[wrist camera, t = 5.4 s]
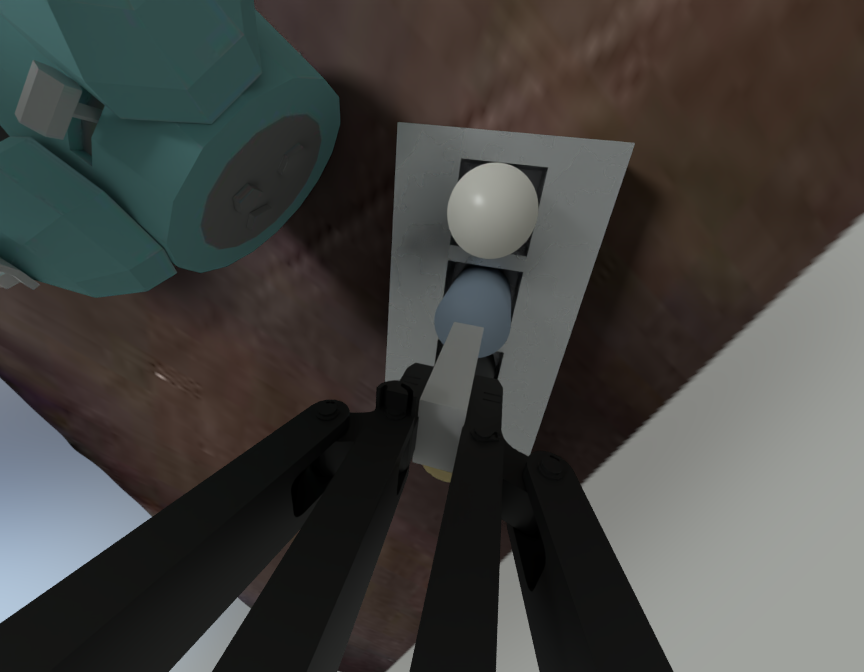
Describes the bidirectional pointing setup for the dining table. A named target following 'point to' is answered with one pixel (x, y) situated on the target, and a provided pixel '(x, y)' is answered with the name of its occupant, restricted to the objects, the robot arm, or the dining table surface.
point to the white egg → (492, 210)
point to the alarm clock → (149, 139)
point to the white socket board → (524, 268)
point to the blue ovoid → (477, 306)
